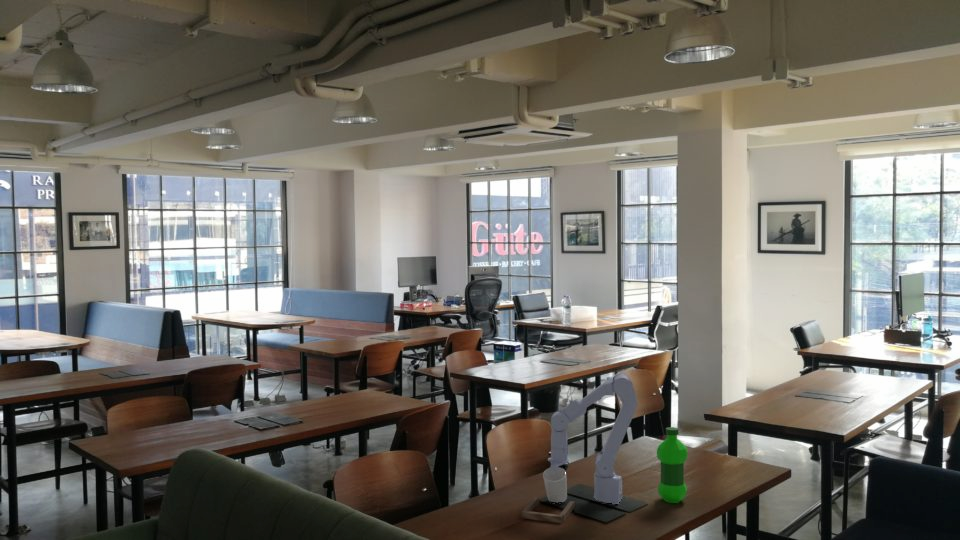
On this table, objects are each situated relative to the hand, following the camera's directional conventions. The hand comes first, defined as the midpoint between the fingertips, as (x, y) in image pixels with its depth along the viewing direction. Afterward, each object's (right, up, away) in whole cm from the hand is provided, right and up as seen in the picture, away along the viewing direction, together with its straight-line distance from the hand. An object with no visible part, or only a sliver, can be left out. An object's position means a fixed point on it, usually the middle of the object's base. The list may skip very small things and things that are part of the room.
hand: (559, 485), depth 270 cm
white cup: (-1, -4, -2) cm, 4 cm away
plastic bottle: (+39, -4, -3) cm, 39 cm away
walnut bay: (-5, -5, -13) cm, 14 cm away
